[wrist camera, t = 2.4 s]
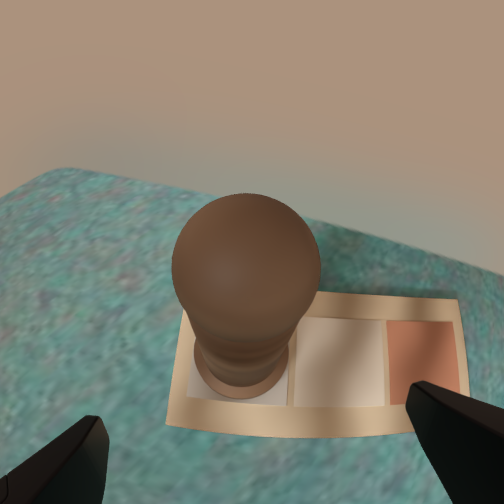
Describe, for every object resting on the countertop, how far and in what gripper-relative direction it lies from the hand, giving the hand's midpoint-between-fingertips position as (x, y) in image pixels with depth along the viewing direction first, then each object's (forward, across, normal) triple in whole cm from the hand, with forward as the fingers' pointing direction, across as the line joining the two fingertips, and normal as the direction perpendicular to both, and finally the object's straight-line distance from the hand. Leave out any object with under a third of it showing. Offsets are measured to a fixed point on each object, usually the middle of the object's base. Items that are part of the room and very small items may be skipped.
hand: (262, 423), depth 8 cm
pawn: (+11, 0, +4) cm, 12 cm away
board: (+11, -6, +6) cm, 14 cm away
